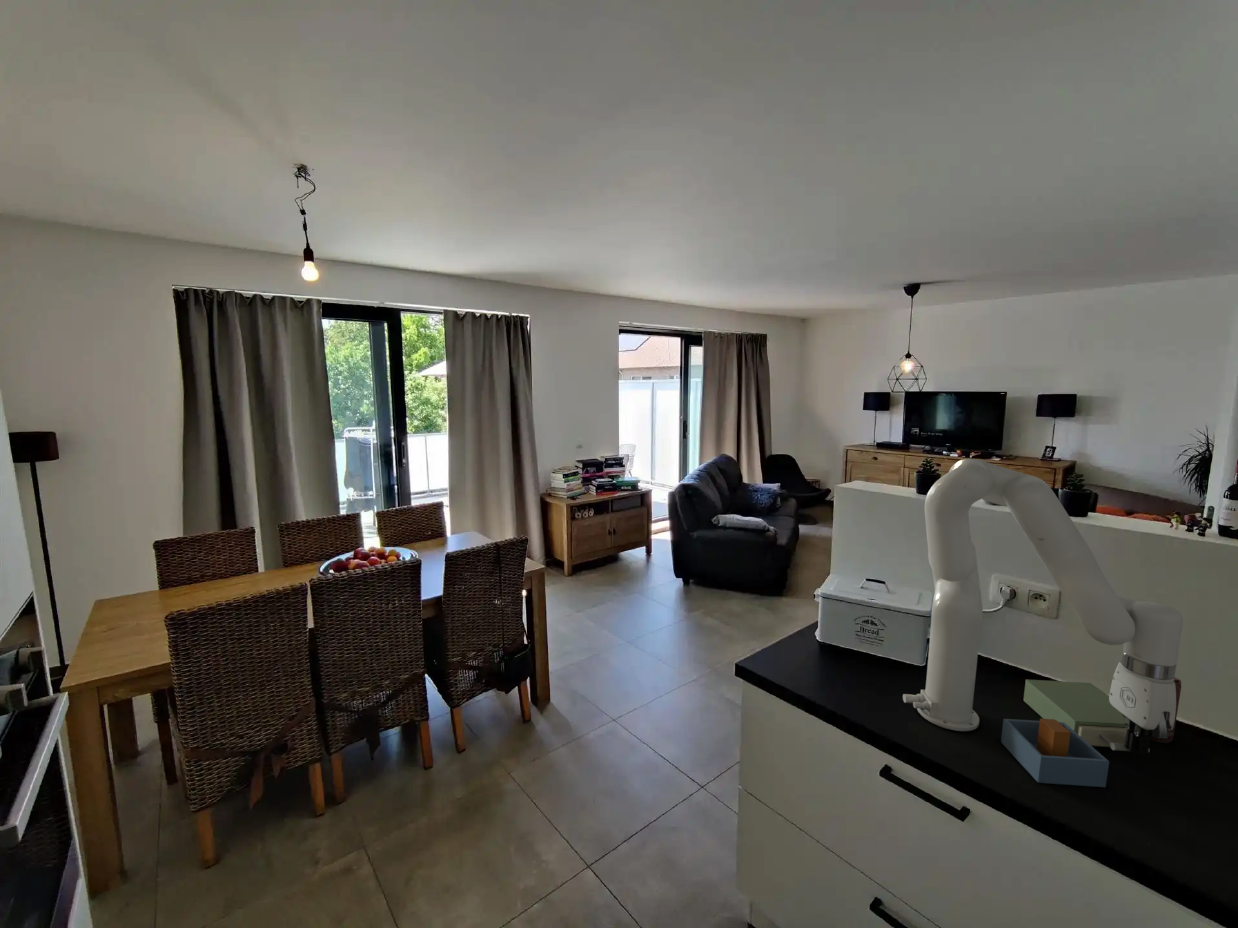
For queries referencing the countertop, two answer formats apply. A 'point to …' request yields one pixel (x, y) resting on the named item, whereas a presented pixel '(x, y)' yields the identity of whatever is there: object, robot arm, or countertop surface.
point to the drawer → (1104, 736)
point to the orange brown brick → (1052, 738)
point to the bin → (1071, 770)
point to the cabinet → (1072, 703)
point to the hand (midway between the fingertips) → (1136, 750)
